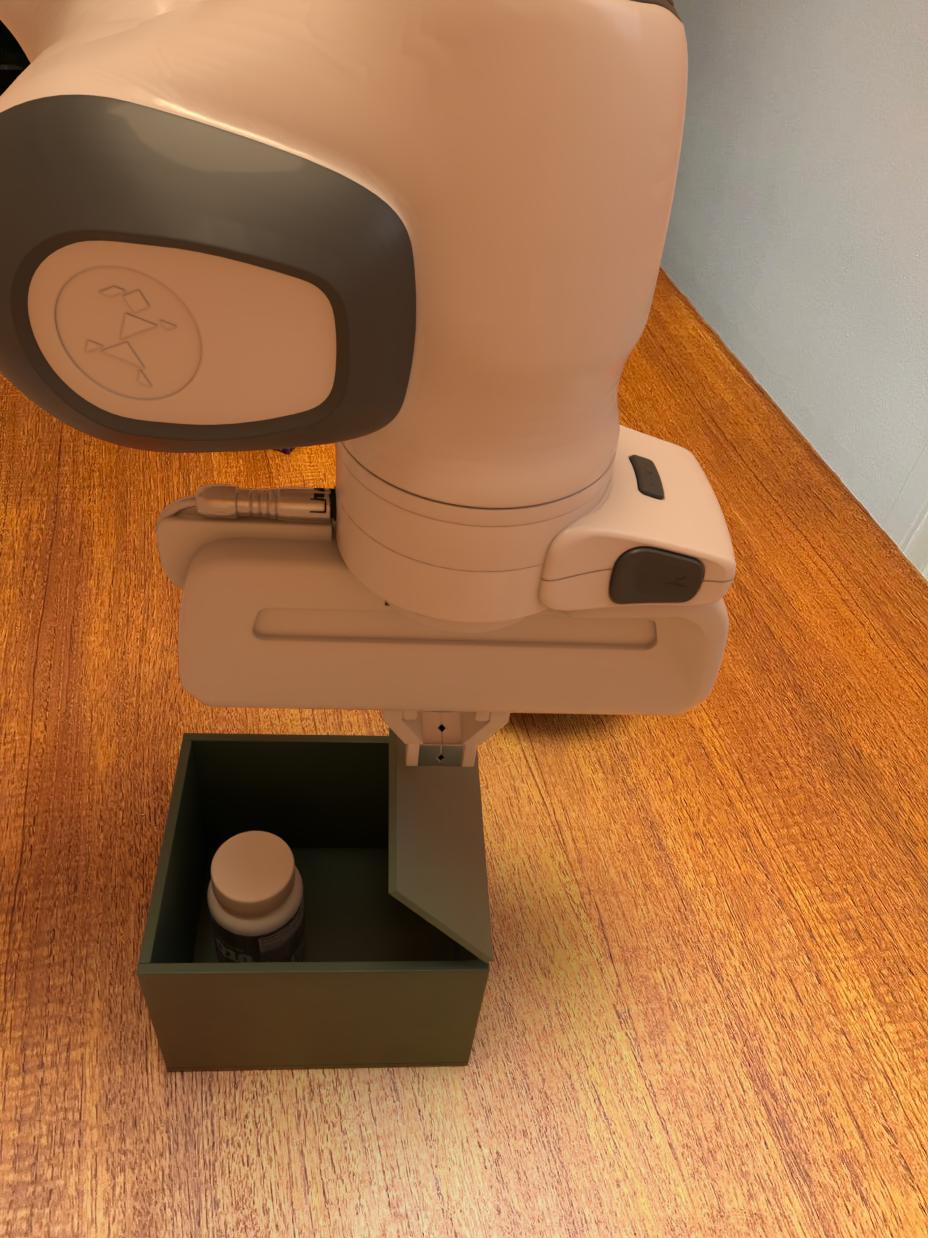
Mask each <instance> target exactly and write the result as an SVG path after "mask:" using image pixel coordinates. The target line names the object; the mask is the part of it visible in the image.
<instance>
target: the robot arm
mask: <svg viewBox="0 0 928 1238" xmlns="http://www.w3.org/2000/svg"><path fill="white" fill-rule="evenodd" d="M678 13H679V12H678V11H677V9H676V8H675V1H674V0H0V21H1V23H3V25H4V26H5V27H6V28H7V30H9V32H10V33H11V34H12V36H13V37H14V39H15V40H16V41H17V43H18V44H19V46H20V47H21V49H22V51H23V53H24V54H25V56H26V58H27V60H28V61H29V63H30V64H29V65H28V66H27V67H26V68H25V69H24V70H23V71H21V73H20V74H19V75H18V76H17V77H16V79H14V81H13V82H12V83H11V84H10V85H9V86H8V87H7V88H6V90H5V91H4V92H3V93H1V94H0V374H2V375H3V377H4V378H5V379H7V380H8V382H9V383H10V384H11V385H12V386H14V387H15V388H16V389H17V390H18V391H19V392H20V393H21V394H22V395H24V397H26V398H27V399H28V400H29V401H31V402H32V403H33V404H34V405H36V406H37V407H39V408H40V409H41V410H43V411H44V412H45V413H47V414H49V415H50V416H52V417H54V418H55V419H57V420H58V421H60V422H62V423H63V424H65V425H67V426H69V427H71V428H72V429H75V430H76V431H78V432H81V433H83V434H84V435H87V436H90V437H93V438H95V439H98V440H101V441H103V442H107V443H109V444H113V445H116V446H119V447H124V448H129V449H133V450H138V451H146V452H153V453H165V454H166V453H168V454H172V453H173V454H202V453H205V454H206V453H235V452H253V451H268V450H269V451H272V450H278V449H285V448H293V449H294V448H295V449H297V448H306V447H314V446H321V445H322V446H323V445H330V444H335V485H334V486H333V488H331V487H309V486H308V487H306V486H279V487H277V486H275V487H270V488H269V487H262V488H259V487H254V488H253V487H241V486H239V485H238V484H231V483H213V484H204V485H200V486H198V487H197V489H196V493H195V494H190V495H187V496H183V497H179V498H176V499H175V500H173V501H172V502H170V503H169V504H167V506H165V507H164V508H163V509H162V511H161V512H160V513H159V515H158V517H157V519H156V524H155V535H156V543H157V549H158V553H159V554H158V555H159V559H160V563H161V567H162V569H163V571H164V574H165V575H166V577H167V578H168V579H169V580H170V582H171V583H173V585H175V586H176V587H177V588H178V589H181V591H182V595H181V600H180V608H179V617H178V630H177V631H178V632H177V663H178V674H179V675H178V676H179V682H180V686H181V688H182V689H183V690H184V691H185V692H186V693H187V694H189V695H190V696H191V697H192V698H194V699H195V700H196V701H198V702H199V703H200V704H201V705H204V706H205V707H210V708H236V709H237V708H241V709H244V708H245V709H292V710H293V709H294V710H295V709H297V710H298V709H299V710H344V711H345V710H346V711H347V710H349V711H382V721H383V722H384V723H385V724H386V726H388V728H389V727H390V729H391V730H392V731H393V732H394V733H395V734H396V735H397V736H398V737H399V738H400V739H401V740H402V741H403V743H404V744H406V766H453V767H473V766H474V762H475V756H476V750H477V751H478V746H481V745H482V744H483V743H485V742H486V741H487V740H488V739H490V738H491V737H492V736H493V735H495V734H496V733H497V732H498V731H500V730H501V729H502V728H503V727H506V725H507V724H509V722H510V716H511V714H554V715H555V714H560V715H561V714H564V715H565V714H566V715H609V716H612V715H615V716H616V715H617V716H659V717H662V716H663V717H679V716H682V715H684V714H686V713H688V712H690V711H692V710H693V709H695V708H697V707H698V706H701V704H703V703H705V702H706V701H707V700H708V698H709V697H710V695H711V693H712V691H713V689H714V686H715V683H716V681H717V678H718V675H719V672H720V670H721V666H722V663H723V658H724V655H725V651H726V646H727V640H728V635H729V630H730V617H729V613H728V608H727V606H726V603H725V600H724V596H725V595H726V594H727V593H728V592H729V590H730V588H731V586H732V584H733V582H734V579H735V576H736V573H737V563H736V556H735V549H734V547H733V542H732V538H731V534H730V531H729V527H728V523H727V521H726V519H725V515H724V513H723V509H722V507H721V504H720V503H719V500H718V498H717V496H716V492H715V491H714V489H713V487H712V484H711V482H710V481H709V478H708V477H707V475H706V473H705V471H704V469H703V467H702V466H701V464H700V462H699V460H697V458H696V456H695V454H694V453H692V452H691V451H690V450H689V449H687V448H685V447H683V446H681V445H679V444H675V443H673V442H670V441H667V440H664V439H661V438H658V437H656V436H653V435H649V434H647V433H644V432H640V431H639V430H635V429H633V428H630V427H628V426H625V425H622V424H621V423H620V410H619V399H618V398H619V397H618V395H619V385H620V381H621V377H622V372H623V371H624V368H625V365H626V363H627V361H628V359H629V357H630V356H631V354H632V352H633V351H634V349H635V347H636V346H637V344H638V343H639V341H640V339H641V337H642V335H643V332H644V331H645V328H646V325H647V323H648V321H649V317H650V312H651V308H652V305H653V300H654V295H655V292H656V287H657V281H658V279H659V278H658V277H659V272H660V268H661V263H662V260H663V259H662V258H663V253H664V249H665V243H666V239H667V234H668V229H669V225H670V218H671V214H672V207H673V202H674V196H675V191H676V184H677V178H678V172H679V166H680V159H681V153H682V144H683V137H684V129H685V121H686V111H687V110H686V109H687V97H688V81H689V80H688V78H689V77H688V76H689V55H688V52H689V51H688V41H687V35H686V29H685V25H684V22H683V20H682V19H681V17H680V15H679V14H678ZM426 711H448V712H426Z"/></svg>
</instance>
